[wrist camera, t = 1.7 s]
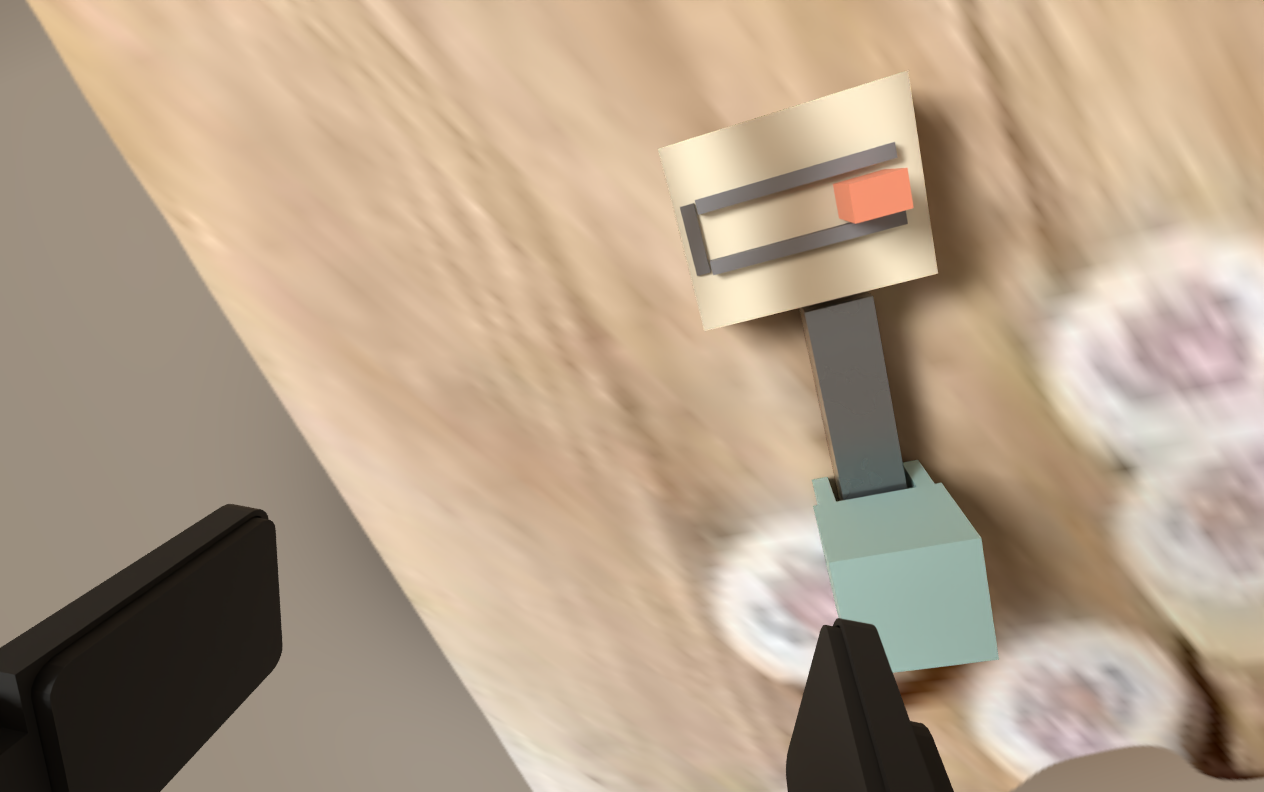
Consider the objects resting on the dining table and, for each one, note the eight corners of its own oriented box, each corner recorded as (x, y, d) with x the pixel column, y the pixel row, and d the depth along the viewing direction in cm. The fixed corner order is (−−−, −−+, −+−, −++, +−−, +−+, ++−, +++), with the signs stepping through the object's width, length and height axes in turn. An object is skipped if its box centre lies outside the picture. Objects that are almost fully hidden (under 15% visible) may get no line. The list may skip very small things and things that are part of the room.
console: (883, 84, 28) (912, 67, 24) (911, 261, 30) (942, 275, 26) (666, 153, 30) (656, 148, 26) (706, 313, 33) (704, 334, 28)
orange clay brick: (883, 169, 25) (907, 167, 22) (889, 204, 26) (913, 208, 23) (832, 183, 26) (848, 184, 23) (838, 218, 26) (855, 223, 23)
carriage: (924, 458, 33) (981, 538, 26) (940, 558, 35) (998, 659, 27) (806, 480, 34) (828, 562, 27) (827, 575, 36) (854, 677, 28)
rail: (880, 280, 31) (902, 294, 27) (932, 580, 36) (957, 627, 32) (777, 306, 32) (784, 323, 28) (840, 594, 37) (854, 641, 33)
